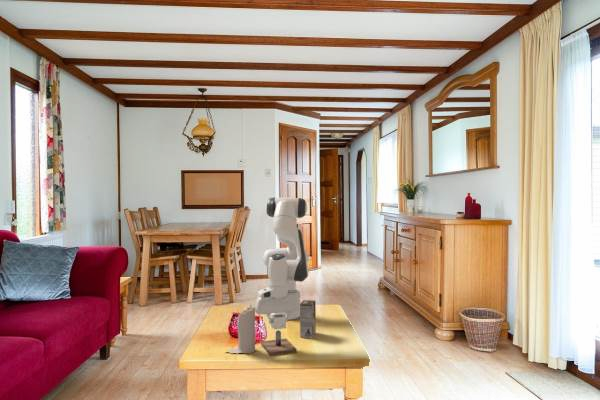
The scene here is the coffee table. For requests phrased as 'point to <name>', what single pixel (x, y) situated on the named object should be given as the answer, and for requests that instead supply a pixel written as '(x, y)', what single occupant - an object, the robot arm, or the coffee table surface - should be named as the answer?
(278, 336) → the steel post
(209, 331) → the coffee table surface
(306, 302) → the coffee box
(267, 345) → the post board
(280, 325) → the collar
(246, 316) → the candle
